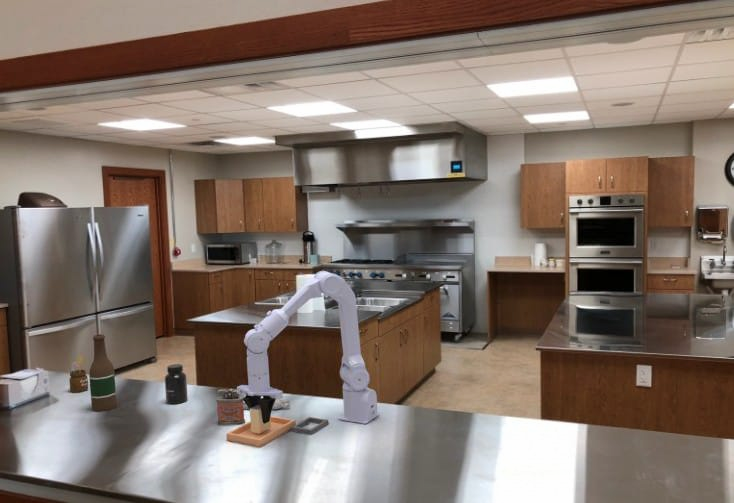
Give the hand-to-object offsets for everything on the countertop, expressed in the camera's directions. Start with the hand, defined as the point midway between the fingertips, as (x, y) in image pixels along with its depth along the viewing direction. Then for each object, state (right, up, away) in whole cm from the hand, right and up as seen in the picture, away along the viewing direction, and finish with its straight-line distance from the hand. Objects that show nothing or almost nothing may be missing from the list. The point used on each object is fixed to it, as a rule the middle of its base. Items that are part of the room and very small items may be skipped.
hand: (261, 421), depth 163 cm
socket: (+13, -3, +3) cm, 14 cm away
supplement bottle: (-34, -3, +32) cm, 46 cm away
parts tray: (0, -4, 0) cm, 3 cm away
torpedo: (-3, -3, +21) cm, 21 cm away
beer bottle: (-56, -4, +29) cm, 63 cm away
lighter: (-11, -4, +10) cm, 15 cm away
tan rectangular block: (0, -2, 0) cm, 2 cm away
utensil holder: (-74, -3, +49) cm, 89 cm away
